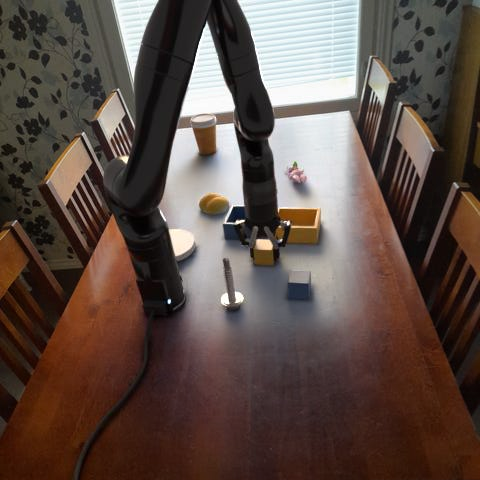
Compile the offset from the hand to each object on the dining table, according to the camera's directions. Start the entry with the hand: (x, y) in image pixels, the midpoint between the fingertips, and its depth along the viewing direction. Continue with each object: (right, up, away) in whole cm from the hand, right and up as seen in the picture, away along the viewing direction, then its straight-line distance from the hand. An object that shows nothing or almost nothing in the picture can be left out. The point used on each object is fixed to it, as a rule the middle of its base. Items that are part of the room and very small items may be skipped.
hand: (265, 258), depth 112 cm
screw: (-8, -12, -11) cm, 18 cm away
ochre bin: (+9, +8, +8) cm, 14 cm away
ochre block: (0, 0, 0) cm, 0 cm away
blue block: (+7, -9, -11) cm, 16 cm away
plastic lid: (-25, +3, +8) cm, 26 cm away
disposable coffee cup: (-18, +47, +56) cm, 75 cm away
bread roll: (-14, +18, +23) cm, 32 cm away
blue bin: (-4, +10, +12) cm, 16 cm away
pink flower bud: (+12, +28, +30) cm, 43 cm away
